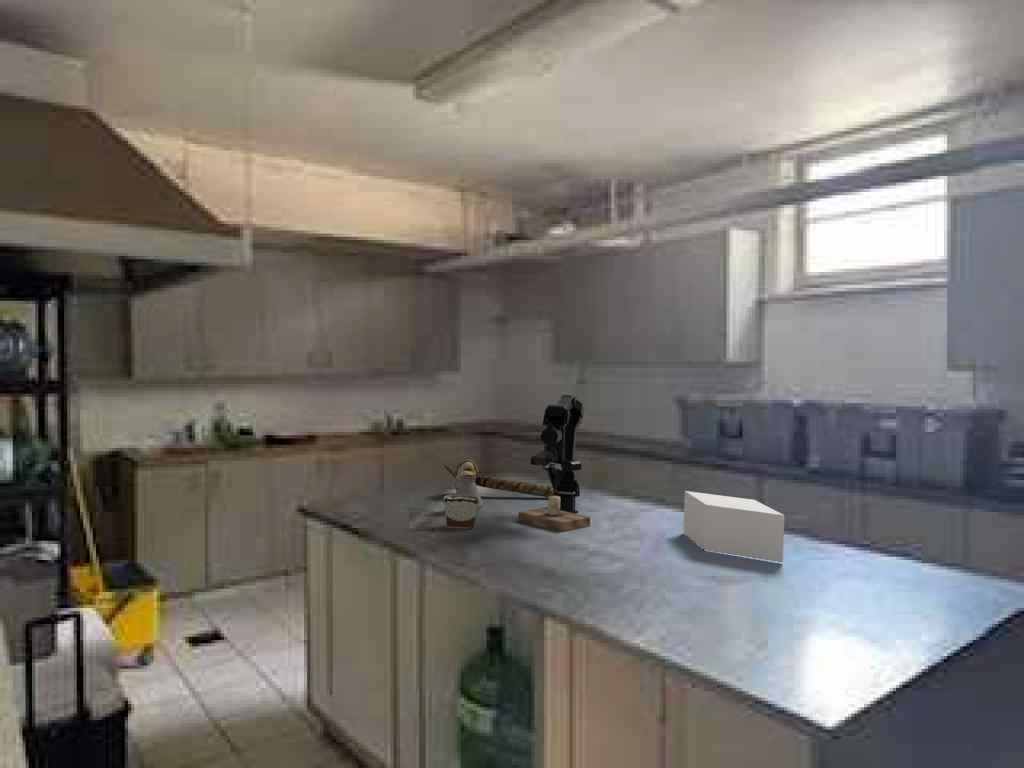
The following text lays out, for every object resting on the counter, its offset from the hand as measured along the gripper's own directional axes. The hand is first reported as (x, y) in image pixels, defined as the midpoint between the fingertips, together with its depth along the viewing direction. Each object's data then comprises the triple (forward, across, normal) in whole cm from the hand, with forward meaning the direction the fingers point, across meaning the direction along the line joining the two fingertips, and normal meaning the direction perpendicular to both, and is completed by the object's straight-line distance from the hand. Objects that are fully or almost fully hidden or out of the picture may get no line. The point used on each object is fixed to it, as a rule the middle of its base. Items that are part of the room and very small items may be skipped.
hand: (554, 488), depth 254 cm
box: (+12, +55, +19) cm, 59 cm away
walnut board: (+12, 0, 0) cm, 12 cm away
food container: (+12, -16, -27) cm, 34 cm away
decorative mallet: (+12, -43, +18) cm, 49 cm away
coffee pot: (+12, -37, -11) cm, 40 cm away
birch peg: (+12, 0, 0) cm, 12 cm away
